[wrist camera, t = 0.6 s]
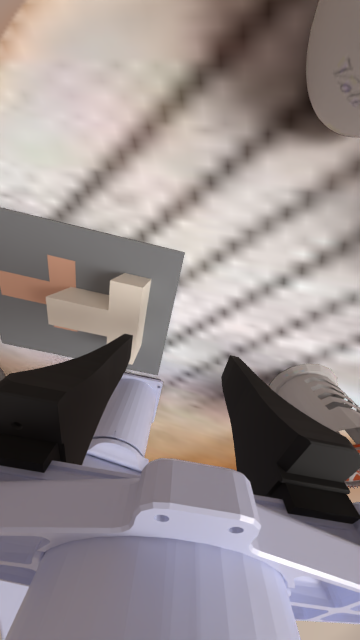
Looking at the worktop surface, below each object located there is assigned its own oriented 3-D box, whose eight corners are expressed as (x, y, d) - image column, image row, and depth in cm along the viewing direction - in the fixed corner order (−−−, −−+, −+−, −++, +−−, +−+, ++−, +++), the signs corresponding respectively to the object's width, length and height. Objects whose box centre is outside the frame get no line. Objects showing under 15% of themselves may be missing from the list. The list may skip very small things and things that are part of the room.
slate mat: (158, 373, 25) (157, 375, 25) (5, 341, 24) (2, 343, 24) (184, 252, 18) (184, 252, 18) (-29, 200, 17) (-34, 199, 17)
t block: (141, 345, 23) (132, 364, 19) (73, 331, 23) (51, 348, 19) (151, 279, 19) (143, 287, 16) (70, 260, 19) (42, 264, 15)
